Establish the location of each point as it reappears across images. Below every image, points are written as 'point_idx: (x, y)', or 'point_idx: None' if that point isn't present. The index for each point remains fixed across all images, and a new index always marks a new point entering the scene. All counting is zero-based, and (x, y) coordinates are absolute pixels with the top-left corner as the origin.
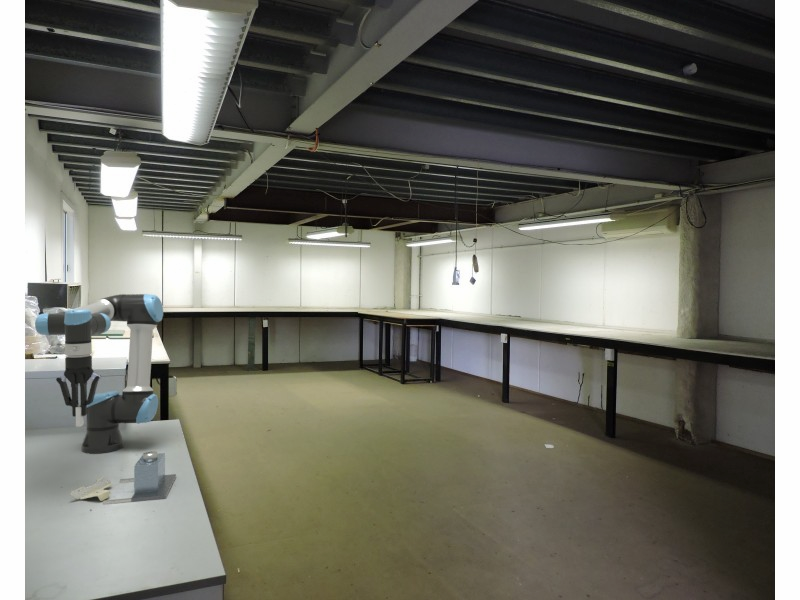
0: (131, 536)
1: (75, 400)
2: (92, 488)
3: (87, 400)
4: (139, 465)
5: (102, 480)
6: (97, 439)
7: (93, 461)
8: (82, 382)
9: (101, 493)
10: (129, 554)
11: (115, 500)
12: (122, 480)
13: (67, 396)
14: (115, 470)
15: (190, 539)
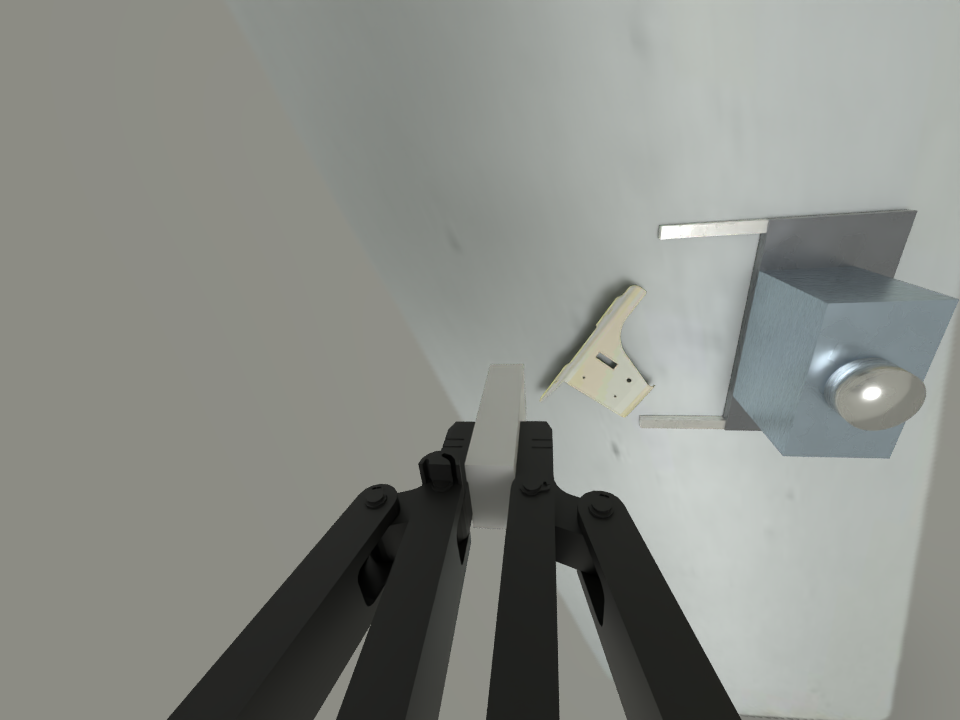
0: (737, 591)
1: (458, 591)
2: (587, 345)
3: (588, 596)
4: (805, 456)
5: (612, 308)
6: None
7: None
8: None
9: (632, 405)
10: (738, 642)
11: (677, 427)
12: (671, 238)
13: (359, 640)
14: (607, 42)
15: (862, 631)
